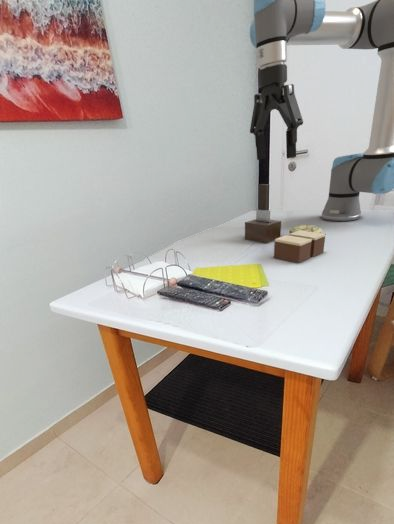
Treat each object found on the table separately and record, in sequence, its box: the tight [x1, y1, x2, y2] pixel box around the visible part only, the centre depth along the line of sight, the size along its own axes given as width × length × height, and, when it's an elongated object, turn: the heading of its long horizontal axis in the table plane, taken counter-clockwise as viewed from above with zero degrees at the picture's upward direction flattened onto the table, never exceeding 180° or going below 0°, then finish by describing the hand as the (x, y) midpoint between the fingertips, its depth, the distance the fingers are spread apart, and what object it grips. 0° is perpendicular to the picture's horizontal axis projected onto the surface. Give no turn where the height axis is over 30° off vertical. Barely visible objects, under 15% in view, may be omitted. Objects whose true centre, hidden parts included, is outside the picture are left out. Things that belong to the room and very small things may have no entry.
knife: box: [255, 183, 271, 223], centre depth 118 cm, size 2×6×18 cm, turn 41°
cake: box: [288, 230, 326, 258], centre depth 104 cm, size 6×9×6 cm, turn 41°
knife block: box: [244, 218, 282, 244], centre depth 121 cm, size 8×10×6 cm
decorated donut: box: [288, 224, 323, 234], centre depth 119 cm, size 10×11×4 cm
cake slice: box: [273, 234, 312, 264], centre depth 100 cm, size 6×9×6 cm, turn 41°
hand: (275, 158), depth 99 cm, fingers open, 13 cm apart
